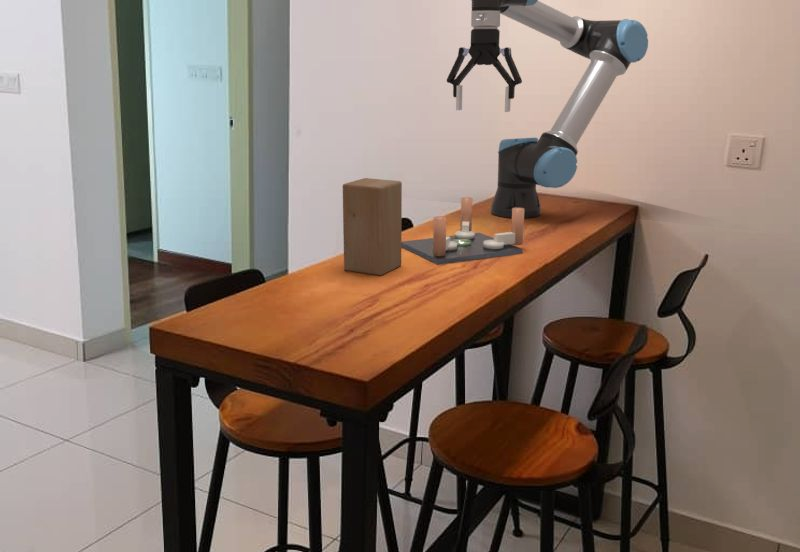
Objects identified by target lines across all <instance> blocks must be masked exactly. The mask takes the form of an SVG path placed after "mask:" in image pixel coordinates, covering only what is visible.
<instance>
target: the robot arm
mask: <svg viewBox="0 0 800 552" xmlns="http://www.w3.org/2000/svg"><path fill="white" fill-rule="evenodd" d="M470 1H471V17H470V18H471V22H470V23H471V24H470V27H472V28H473V29H471V30H470V46H469V48H466V47H465V46H464V47H463V46H462V47H461V46H460V47H459V48H458V52H457V54H458V55H457V57H456V58H455V59H456V60H454V61H455V62H454V64H453V66H452V67H451V70H450V72H449V73H448V76H447V78H446V82H447V83H448V84H452V86H453V87H452V88H453V90H452V96H453V98H456V99H455V100H456V101H455V110H456V111H462V110H463V85H462V84H461V83H462V82H463V80H464V79H465V78H466V76H468V75H469V73H470V72H471V71H472V70H473V68H474V67H475V66H476V65H478V66H482V65H483V66H493V67H494V68H495V70H496V71H498V73H499V74H500V75H501V77H502V79H504V81H505V83H507V86H505V92H504V94H505V95H504V97H505V98H504V112H505V113H508V112H511V102H512V101H511V100H513V99H515V91H516V90H515V89H516V86H517V85H520V84H522V83H523V80H522V78H521V75H520V73H519V70H518V68H517V66H516V64H515V61H514V59H513V56H512V48H511V47H506V46H505V47H503V48H500V32H501V31H500V30H499V29H498V28H499V27H500V26H501V15H502V16H505V17H507V18H509V19H511V20H513V21H516V22H517V23H520V24H522V25H524V26H526V27H528V28H531V29H532V30H535V31H536V32H538V33H541V34H542V35H545V36H548V37H549V38H551V39H554V40H555V41H558V42H559V43H560V45H561V47H563V48H564V49H566V50H569V51H570V52H573V53H575V54H576V55H579V56H581V57H584V58H586V59H588V60H590V63H589V64H588V66H587V68H586V69H585V71H584V73H583V75H582V76H581V78H580V80H579V81H578V83H577V85H576V86H575V88H574V90H573V91H572V93H571V95H570V96H569V98H568V99H567V101H566V104H565V105H564V107H563V108H562V110H561V112H560V114H559V115H558V117H557V118H556V120H555V122H554V124H553V125H552V127H551V129H550V130H548V131H544V132H542V134H541V135H540V137H539V138H538V137H534V136H533V137H518V138H504V139H502V140H500V141H499V146H498V151H497V154H498V159H497V161H498V165H497V189H496V191H495V194H494V197H493V200H492V202H491V205H490V213H491V215H495V216H497V217H502V218H510V219H512V208H524V219H525V218H527V219H528V218H534V217H538V216H541V212H542V209H541V208H542V207H541V206H542V205H541V203H540V199H539V196H538V192H537V186H541V187H544V188H551V189H554V188H555V189H556V188H561V187H563V186H566V184H568V183H570V181H571V180H573V178H574V176H575V174H576V172H577V169H578V166H577V163H578V158H577V155H578V153H579V151H578V147H577V145H578V143H579V141H580V139H581V138H582V136H583V134H584V132H585V131H586V130H587V128H588V126H589V124H590V123H591V121H592V119H593V118H594V116H595V114H596V113H597V112H598V109H599V107H600V106H601V104H602V102H603V101H604V99H605V97H606V95H607V94H608V92H609V90H610V88H611V87H612V85H613V84H614V82H615V80H616V79H617V77H618V76H621V75H625V73H626V72H627V70H628V69H629V67H630V65H631V63H633V64H634V63H637V62H639V61H641V60H643V58H644V57H645V56H646V54H647V51H648V48H649V39H648V31H647V30H646V27H645V26H644V25H643V24H642V23H641V22H640V21H638V20H636V19H628V18H624V19H621V20H619V19H617V20H616V19H615V20H590V19H585V18H582V17H580V16H578V15H576V16H570V15H568V14H566V13H564V12H562V11H560V10H558V9H555V8H554V7H552V6H550V5H547V4H546V3H544V2H541V1H540V0H470ZM468 54H469V55H470V57H471V58H470V60H469V61H468V62H467V64H466V65H465V67H463V68H462V67H461V66H462V64H463V63H464V60H465V57H467V56H468ZM500 55H502V57H504V60H505V62H506V64H507V66H508V68H509V71H510V73H511V75H510V74H509V72H508V71H507V70H506V68H505V67H504V66H503V65H502V62H501V61H500V59H499V58H498V57H499V56H500ZM461 68H462V70H461V71H460V69H461ZM459 71H460V73H459ZM458 73H459V74H458ZM457 74H458V75H457Z"/></svg>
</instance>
